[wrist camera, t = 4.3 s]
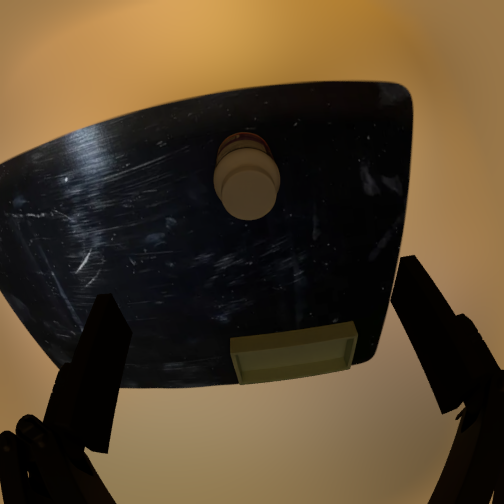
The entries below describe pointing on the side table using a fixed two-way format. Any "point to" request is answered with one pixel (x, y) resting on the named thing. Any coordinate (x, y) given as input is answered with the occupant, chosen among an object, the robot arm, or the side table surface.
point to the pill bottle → (246, 176)
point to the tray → (293, 353)
